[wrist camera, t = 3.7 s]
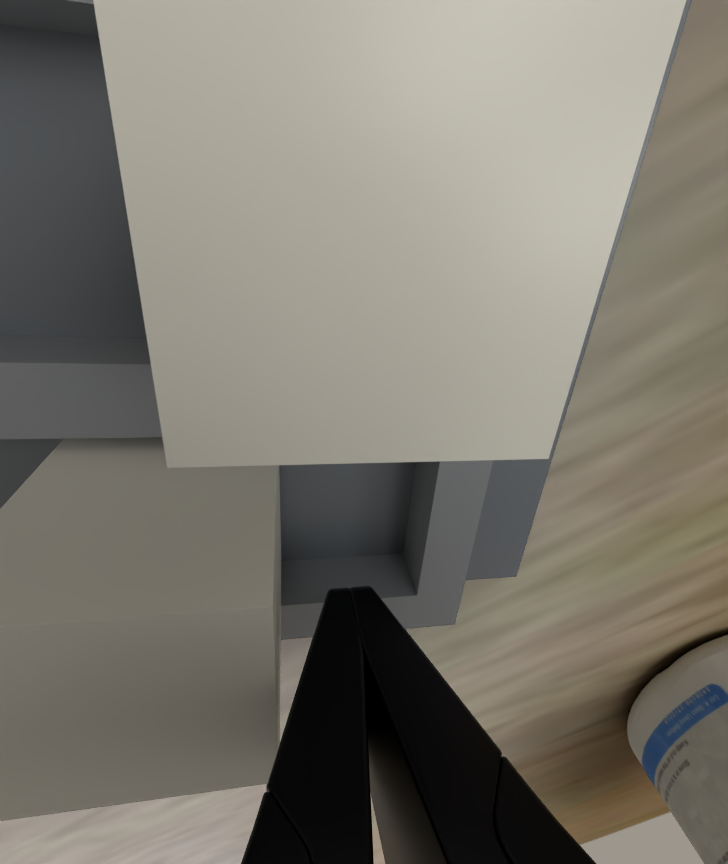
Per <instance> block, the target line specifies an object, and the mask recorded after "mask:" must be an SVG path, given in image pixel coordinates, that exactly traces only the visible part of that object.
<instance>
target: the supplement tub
mask: <svg viewBox="0 0 728 864" xmlns="http://www.w3.org/2000/svg"><path fill="white" fill-rule="evenodd" d="M627 735H628V740H629V743H630V746H631V748H632V750H633V752H634V754H635V756H636V757H637V759H638V760H639V762H640V763H641V765H642V766H643V768H644V770H645V772H646V773H647V775H648V777H649V778H650V780H651V781H652V783H653V785H654V786H655V788H656V789H657V791H658V792H659V794H660V796H661V797H662V799H663V800H664V802H665V803H666V805H667V806H668V808H669V810H670V811H671V813H672V814H673V816H674V817H675V819H676V820H677V822H678V823H679V825H680V827H681V828H682V830H683V831H684V833H685V834H686V836H687V837H688V839H689V841H690V842H691V844H692V845H693V847H694V848H695V850H696V851H697V853H698V854H699V856H700V858H701V859H702V861H703V862H704V864H728V635H725V636H722V637H719V638H716V639H714V640H711V641H709V642H707V643H704V644H702V645H700V646H698V647H696V648H695V649H693V650H691V651H689V652H688V653H686V654H684V655H683V656H681V657H680V658H679V659H677V660H676V661H675V662H674V663H673V664H672V665H671V666H670V667H668V668H667V669H666V670H664V671H663V672H661V673H659V674H657V675H656V676H655V677H654V678H653V679H652V680H651V681H650V682H649V683H648V684H647V685H646V686H645V687H644V689H643V690H642V691H641V692H640V694H639V695H638V697H637V698H636V700H635V702H634V704H633V706H632V708H631V711H630V714H629V717H628V722H627Z"/></svg>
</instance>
